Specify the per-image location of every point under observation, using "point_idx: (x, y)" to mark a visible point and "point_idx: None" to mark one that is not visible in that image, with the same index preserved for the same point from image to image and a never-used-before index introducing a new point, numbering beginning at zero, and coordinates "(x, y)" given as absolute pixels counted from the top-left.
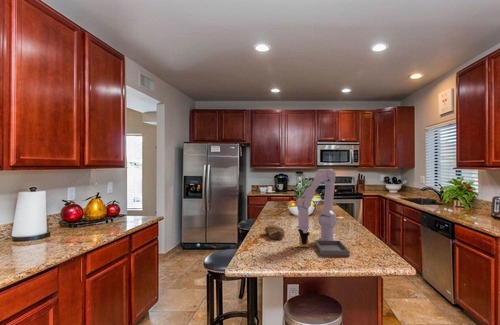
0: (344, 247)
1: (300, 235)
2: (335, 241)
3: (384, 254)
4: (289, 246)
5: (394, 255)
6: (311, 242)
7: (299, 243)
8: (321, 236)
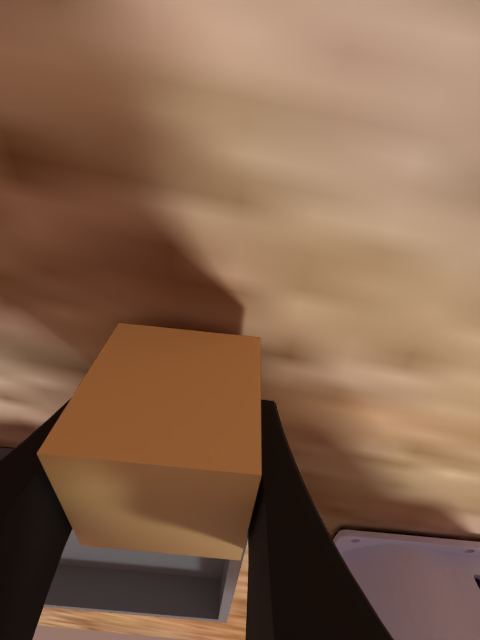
0: (48, 594)
1: (263, 520)
2: (220, 603)
3: (78, 618)
4: (222, 125)
5: (73, 627)
6: (391, 471)
7: (208, 351)
8: (420, 593)
